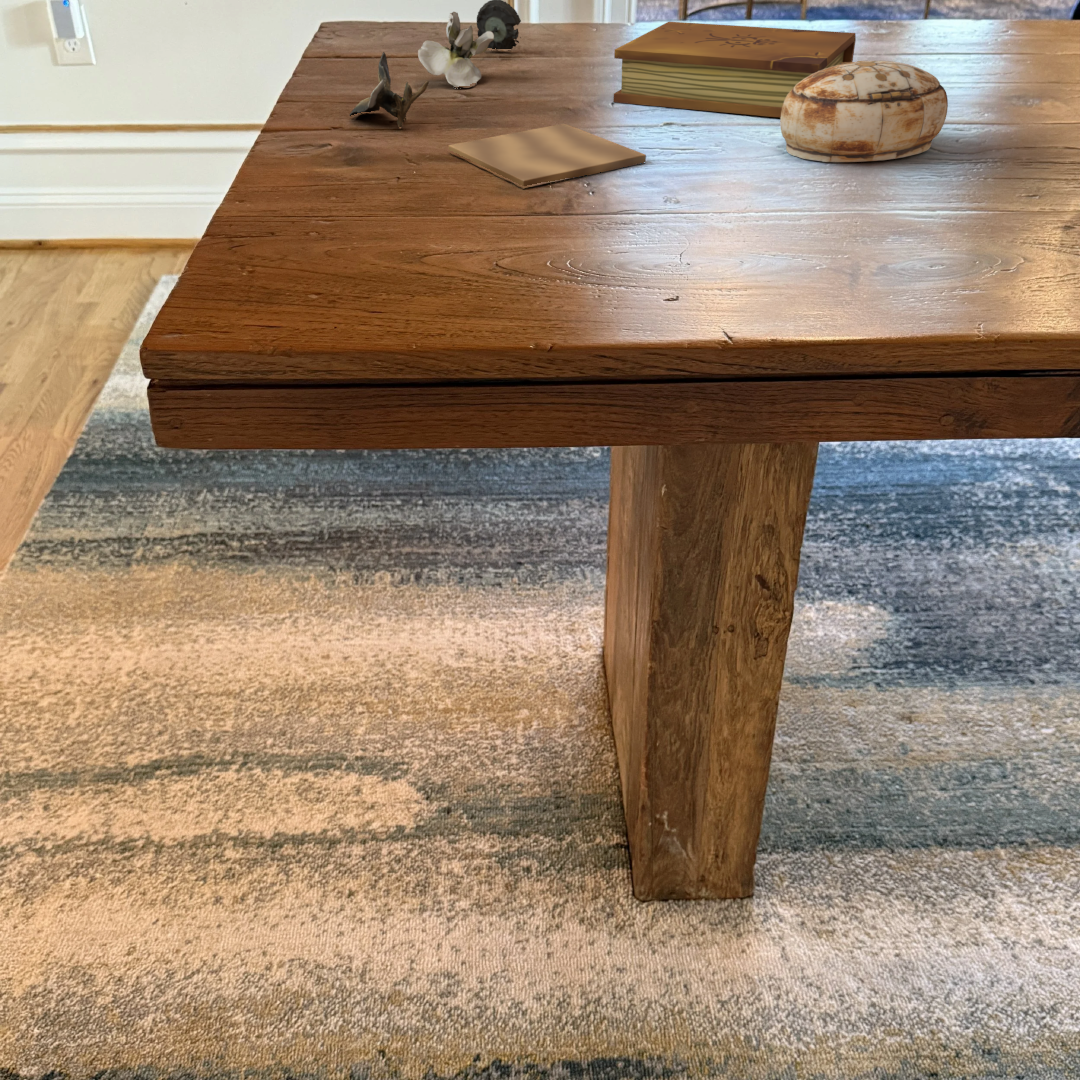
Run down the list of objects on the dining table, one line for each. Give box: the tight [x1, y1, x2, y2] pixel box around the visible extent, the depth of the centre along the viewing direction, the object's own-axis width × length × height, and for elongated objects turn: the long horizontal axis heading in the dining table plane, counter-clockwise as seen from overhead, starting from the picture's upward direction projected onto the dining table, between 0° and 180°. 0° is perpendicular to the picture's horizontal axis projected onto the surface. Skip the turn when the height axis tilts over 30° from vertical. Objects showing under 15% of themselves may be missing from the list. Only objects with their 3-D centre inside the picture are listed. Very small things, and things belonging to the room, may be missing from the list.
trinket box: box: [779, 60, 949, 163], centre depth 101 cm, size 13×15×8 cm
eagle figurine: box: [349, 51, 430, 128], centre depth 112 cm, size 8×7×9 cm
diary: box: [613, 21, 857, 119], centre depth 121 cm, size 23×19×6 cm
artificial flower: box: [417, 0, 522, 87], centre depth 132 cm, size 9×22×10 cm, turn 159°
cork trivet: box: [448, 123, 647, 186], centre depth 102 cm, size 14×14×1 cm
